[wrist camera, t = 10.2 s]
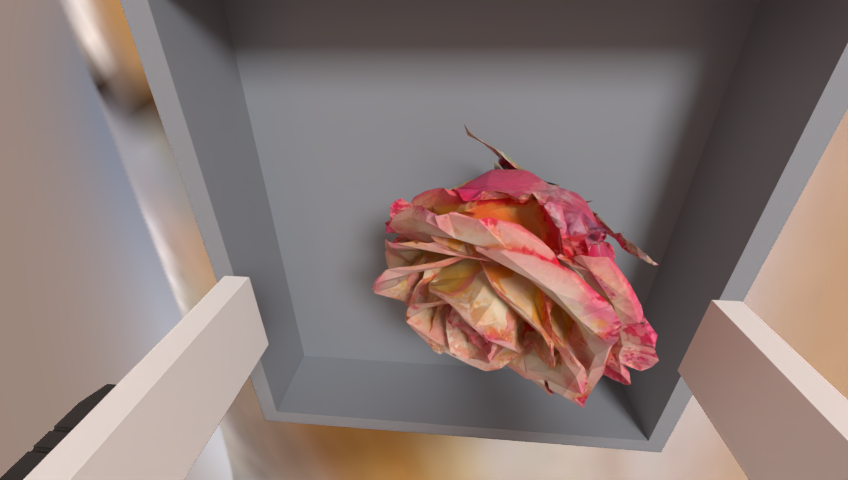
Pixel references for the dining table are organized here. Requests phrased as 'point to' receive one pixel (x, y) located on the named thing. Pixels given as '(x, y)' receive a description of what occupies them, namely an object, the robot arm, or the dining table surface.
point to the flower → (517, 281)
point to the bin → (469, 158)
